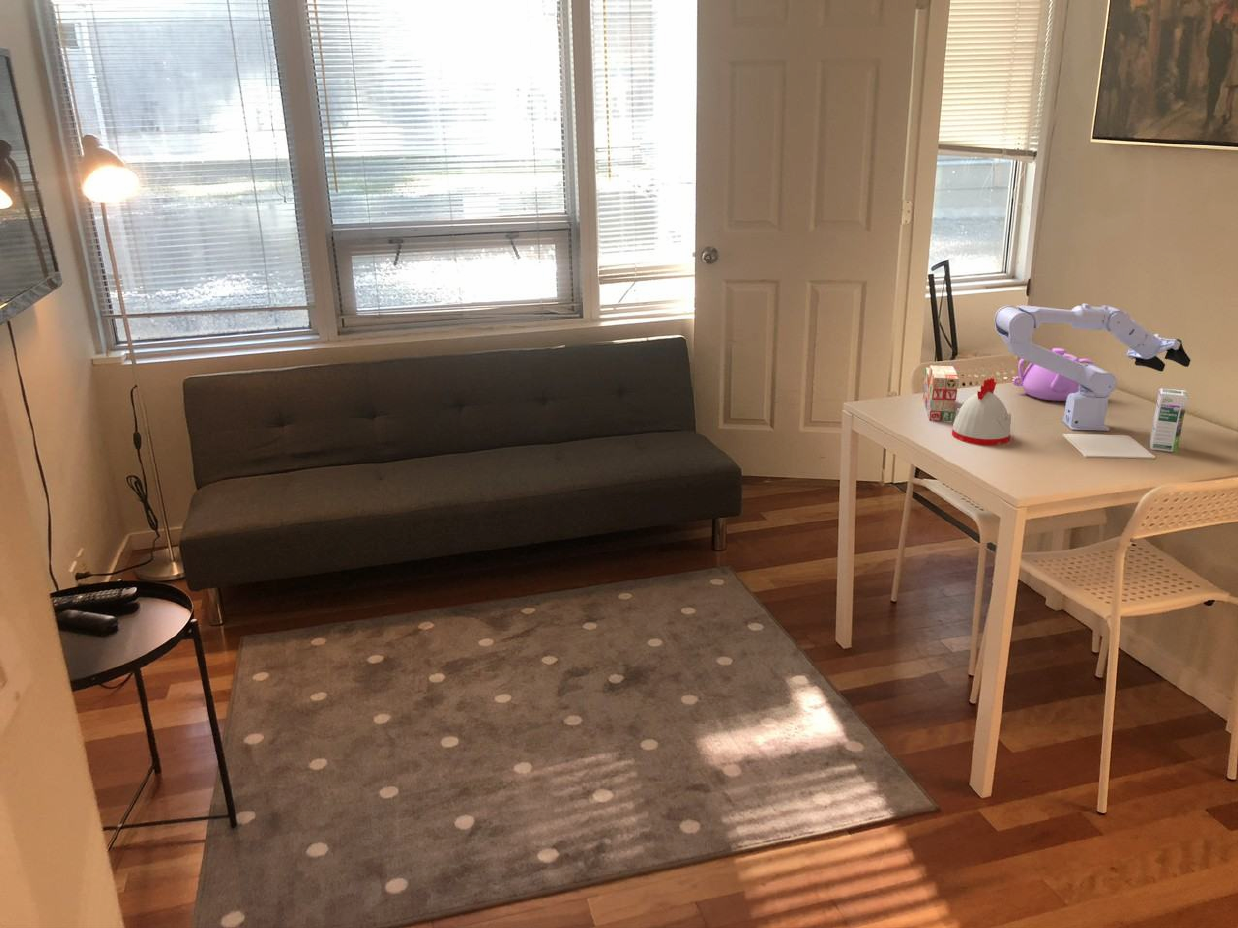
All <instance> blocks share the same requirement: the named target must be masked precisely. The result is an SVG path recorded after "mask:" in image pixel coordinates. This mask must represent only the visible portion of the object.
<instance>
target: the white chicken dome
mask: <svg viewBox="0 0 1238 928" xmlns="http://www.w3.org/2000/svg"><path fill="white" fill-rule="evenodd" d="M996 385H997V382H996V381H995V378H993V377H992V378H991V377H990V378H987V379H984V381H983V384H982V385H980V390H977V392H976V393H975V394H973V395H971V396H970V397H969V398H967V399H966V401H965V402H964V403H963V404H962V405H961V407H960V408H958V407H957V409H956V412H955V418H954V420H953V424H952V429H951V436H952V437H953V438H954V439H956V440H958V441H961V442H964V443H967V444H971V443H972V444H973V445H977V444H978V446H999V445H998V444H1000V445H1004V444H1006V443H1008V442H1009V441H1010V437H1011V424H1012V414H1011V413H1008V411H1007V409H1006V406H1005V404H1004V403H1003V401H1002V400H1001V399H1000V398H999V397H998V396H997V395H996V394H994V391H995V389H996ZM1003 443H1004V444H1003Z"/></svg>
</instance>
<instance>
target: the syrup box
mask: <svg viewBox="0 0 1238 928" xmlns="http://www.w3.org/2000/svg"><path fill="white" fill-rule="evenodd" d="M1188 397H1189V395H1188V393H1187V391H1186V389H1181V390H1180V389H1174V388H1173V389H1171V388H1162V387H1160V388H1159V389H1158V394H1157V400H1156V405H1155V410H1154V415H1153V421H1152V426H1151V432H1150V437H1149V442H1148V443H1149V448H1150V450H1151V451H1161V452H1168V453H1169V452H1170V453H1177V452H1178V447H1179V442H1180V438H1181V433H1182V428H1183V422H1184V419H1185V417H1184V416H1185V412H1186V408H1187V404H1188V399H1189V398H1188Z"/></svg>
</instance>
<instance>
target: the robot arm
mask: <svg viewBox="0 0 1238 928" xmlns="http://www.w3.org/2000/svg"><path fill="white" fill-rule="evenodd" d="M1017 308H1018V309H1017ZM993 319H994V320H993V321H994V326H995V327H994V328H995V331H996V332H997V333H998V335H999V336H1000V337H1001V339H1002V341H1003V342H1004V344H1005V346H1006V348H1007V349H1008V352H1010V354H1012V355H1013V356H1016V357H1017V358H1019V359H1020V360H1021V359H1024V360H1026V362H1029V363H1030V364H1031V363H1033V364H1036V365H1038V366H1040V367H1043V368H1045V369H1048V370H1050V371H1052V372H1055V373H1057V374H1060V375H1062V376H1064V377H1067V378H1069V379H1071V380H1074V381H1076V382H1077V383H1078V384H1079V392H1076V393H1070V394H1069V395H1068V397H1067V400H1066V401H1065V407H1064V412H1063V419H1061V421H1062V423H1064V424H1065V425H1066V426H1067V427H1068V428H1069V429H1071V430H1073V431H1105V432H1106V431H1107V432H1108V431H1110V428H1109V427H1108V426H1107V425H1106V424H1105V421H1106V415H1107V410H1108V404H1109V398H1110V396H1111V394H1113V392H1114V391H1115V390H1116V388H1117V386H1118V379H1117V377H1116V375H1115V374H1113V373H1112V372H1108V371H1106V370H1104V369H1103V368H1100V367H1099V366H1097V365H1095V363H1094V364H1089V363H1085V364H1084V363H1079V362H1076V361H1073V360H1071V359H1069V358H1066V357H1064V356H1062V355H1059V354H1057V353H1054V352H1053V351H1052V350H1049V349H1048V348H1044V347H1043V346H1041V345H1038V344H1035V343H1033V341H1032V340H1033V339H1032V338H1033V333H1034V329H1035V330H1037V329H1038V328H1039V327H1040V326H1041V324H1042V323H1051V324H1069V325H1070V326H1071V327H1072V329H1075V330H1089V331H1090V330H1091V331H1101V330H1106V331H1107V332H1109V333H1110V334H1112V335H1113V336H1114V337H1115V338H1116V339H1117V340H1119V341H1120V342H1122V343H1123V344H1124V345H1125V346H1127V347H1129V348H1128V351H1127V353H1126V357H1127V358H1129V359H1130V360H1133V359H1134V360H1135V361H1134V365H1135V366H1138V367H1145V368H1148V369H1149V368H1150V369H1152V370H1154V371H1156V372H1157V371H1158V372H1160V373H1161V372H1164V370H1165V367H1166V363H1165V362H1164V361H1163V360H1162V359H1160V358H1159V357H1158V355H1160V354H1162V353H1163V352H1166V353H1165V356H1164V359H1165V360H1169V361H1172V362H1173V361H1174V362H1175V363H1177V364H1179V365H1181V366H1183V367H1186V368H1187V367H1189V365H1190V364H1191V361H1192V360H1191V358H1190V357H1189V356H1188V355H1187V353H1186V351H1185V349H1184V347H1183V343H1182V340H1181V339H1180V338H1177V339H1176V338H1173V339H1172V338H1163V337H1161V335H1160V334H1159V333H1155V334H1153V333H1152V332H1150V331H1149V330H1148V329H1146V328H1145V327H1144V326H1142V325H1140V324H1139V322H1136V321H1135V320H1134V319H1131V317H1130V315H1129V313H1128V312H1127V311H1123V310H1121V309H1118V308H1116V307H1113V306H1109V305H1106V304H1105V305H1101V306H1099V307H1098V306H1091V304H1088V303H1082V305H1076V306H1074V307H1073V308H1072V309H1070V310H1069V309H1064V308H1063V309H1061V308H1054V307H1045V306H1044V307H1042V306H1034V305H1033V306H1032V305H1023V304H1021V305H1016V306H1013V305H1003V306H1002V307H1000V308H999V309H998V310H997V311H996V313H995V314H994V318H993Z"/></svg>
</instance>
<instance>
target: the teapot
mask: <svg viewBox="0 0 1238 928" xmlns="http://www.w3.org/2000/svg"><path fill="white" fill-rule="evenodd" d="M1051 351H1052V352H1054V353H1057V354H1059V355H1062V356H1064V357H1066V358H1069V359H1071V360H1073V361H1076V362H1079V363H1081V364H1084V363H1085V364H1094V365H1095V363H1094V362H1093V361H1092V360H1091V359H1088V358H1080V359H1078V357H1077V356H1075V355H1073V354H1069V353H1065V352H1066V349H1064V348H1060V347H1053V348H1052V349H1051ZM1025 361H1026V360H1024V359H1021V358H1020V360H1019V362H1018V366H1017V367H1018V374H1019V376H1015V377H1014V378H1013V379H1012V383H1013V385H1014V386H1016V387H1022V388H1023V390H1024V392H1025V393H1026V394H1027V395H1029V396H1030V397H1032V398H1033V397H1034V398H1035V399H1038V400H1046V401H1057V402H1066V400H1067V397H1068V395H1069V394H1070V393H1076V392H1079V384H1078V383H1077V382H1076V381H1074V380H1071V379H1069V378H1067V377H1064V376H1062V375H1060V374H1057V373H1055V372H1052V371H1050V370H1048V369H1045V368H1043V367H1040V366H1038V365H1036V364H1033V363H1031V362H1030V364H1029V365H1028V366H1027V368H1026V369H1025V371H1023V370H1024V369H1023V365H1024V362H1025ZM1026 362H1027V361H1026ZM1017 380H1019V382H1017Z"/></svg>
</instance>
